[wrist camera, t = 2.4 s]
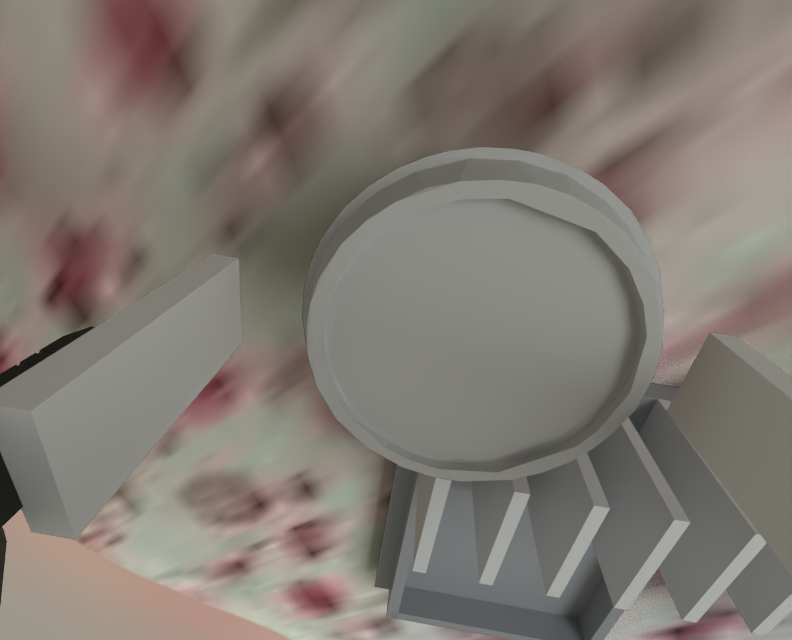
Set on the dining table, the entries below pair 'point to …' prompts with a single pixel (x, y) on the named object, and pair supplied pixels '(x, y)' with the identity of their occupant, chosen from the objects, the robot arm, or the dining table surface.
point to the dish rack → (578, 541)
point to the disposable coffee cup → (483, 314)
